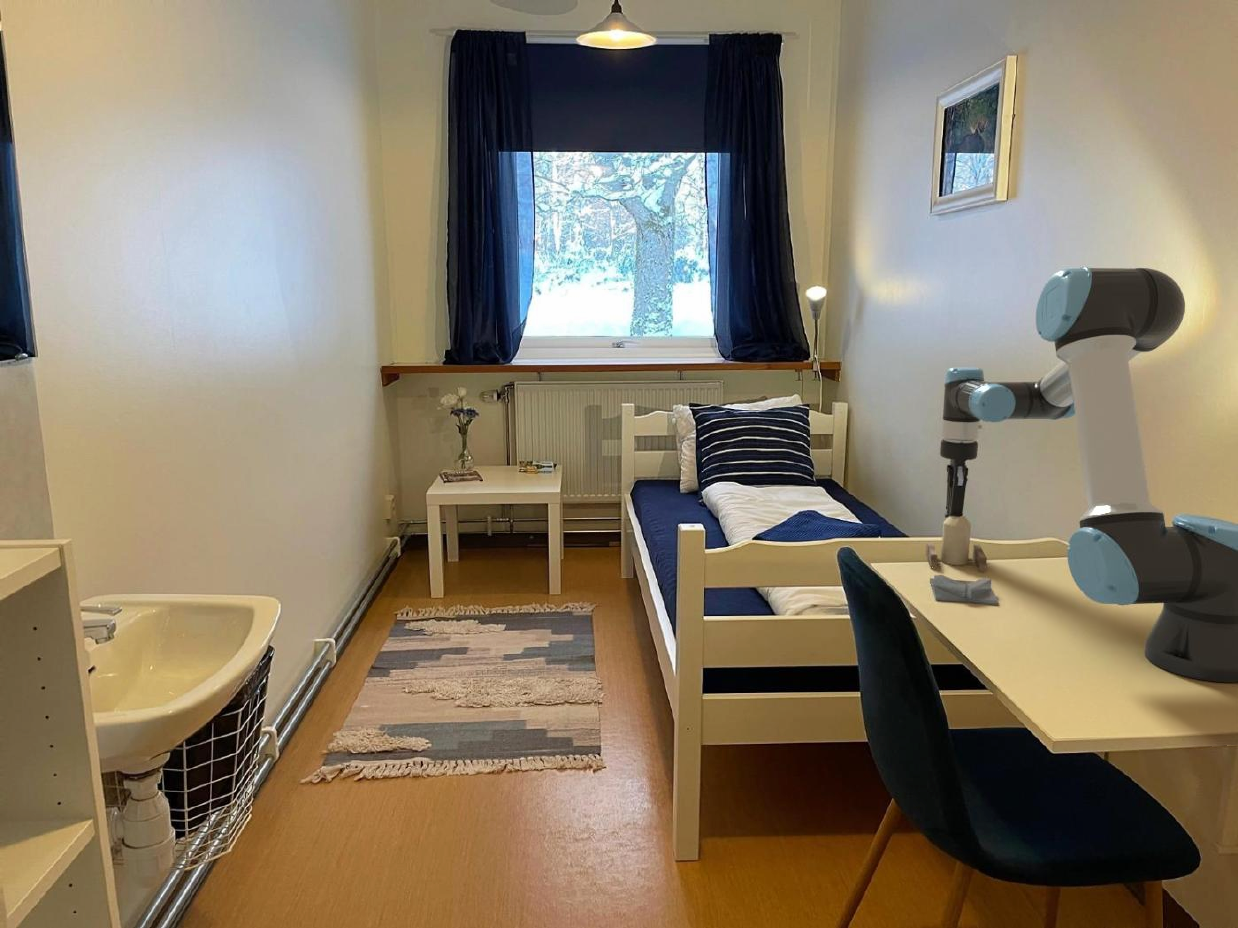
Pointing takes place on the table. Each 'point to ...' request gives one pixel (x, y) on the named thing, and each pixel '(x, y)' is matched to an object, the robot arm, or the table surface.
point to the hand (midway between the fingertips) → (951, 545)
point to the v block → (963, 590)
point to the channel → (977, 556)
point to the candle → (955, 540)
